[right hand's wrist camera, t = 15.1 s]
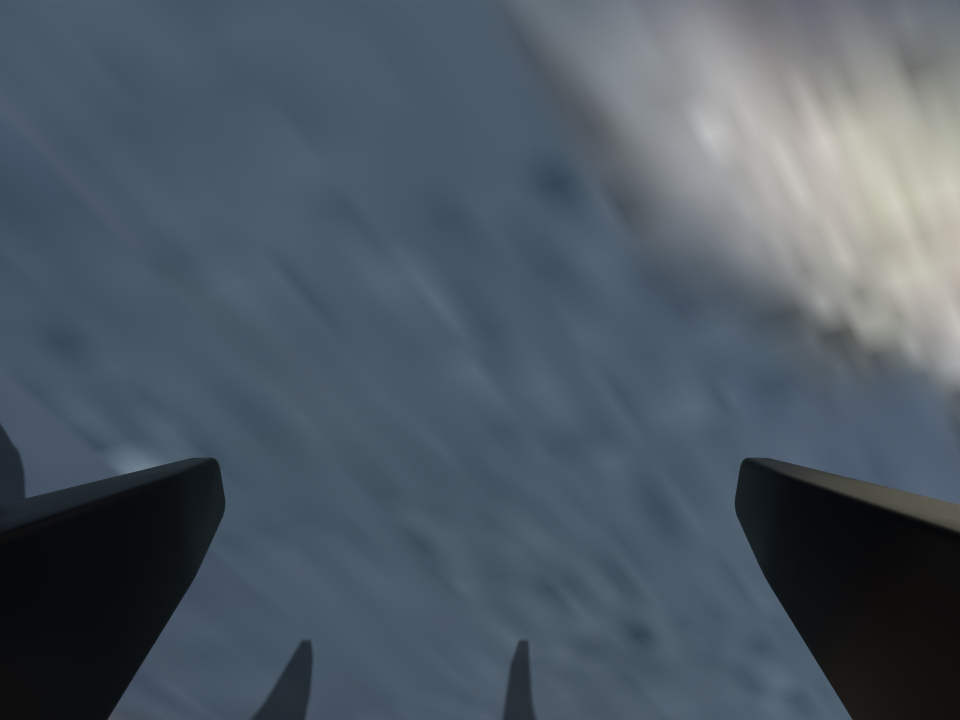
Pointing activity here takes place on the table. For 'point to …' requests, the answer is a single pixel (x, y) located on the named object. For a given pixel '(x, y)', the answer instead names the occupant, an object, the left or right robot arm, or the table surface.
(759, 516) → the right robot arm
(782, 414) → the table surface
